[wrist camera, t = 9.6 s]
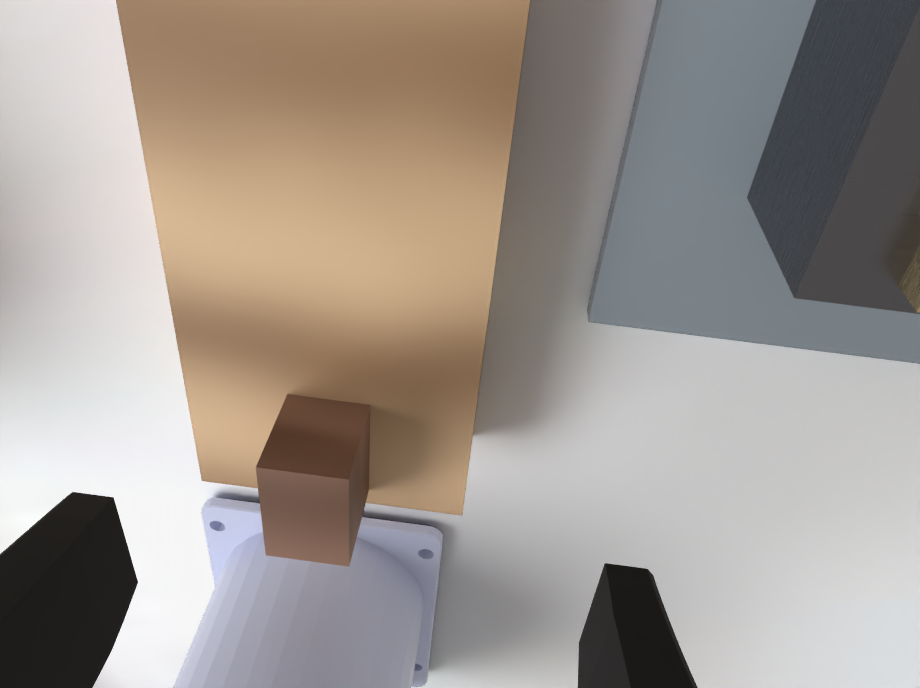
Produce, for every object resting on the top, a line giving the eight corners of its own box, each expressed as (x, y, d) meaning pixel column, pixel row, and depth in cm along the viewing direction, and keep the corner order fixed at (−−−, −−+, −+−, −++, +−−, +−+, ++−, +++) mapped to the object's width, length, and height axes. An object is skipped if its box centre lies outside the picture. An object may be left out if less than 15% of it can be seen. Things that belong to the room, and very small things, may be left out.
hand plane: (471, 436, 22) (452, 593, 18) (239, 406, 22) (164, 554, 18) (644, -884, 9) (731, -1492, 5) (73, -931, 9) (-350, -1562, 5)
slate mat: (982, 357, 19) (994, 372, 18) (587, 308, 19) (588, 321, 19) (1371, -245, 12) (1406, -247, 11) (728, -312, 12) (735, -315, 11)
